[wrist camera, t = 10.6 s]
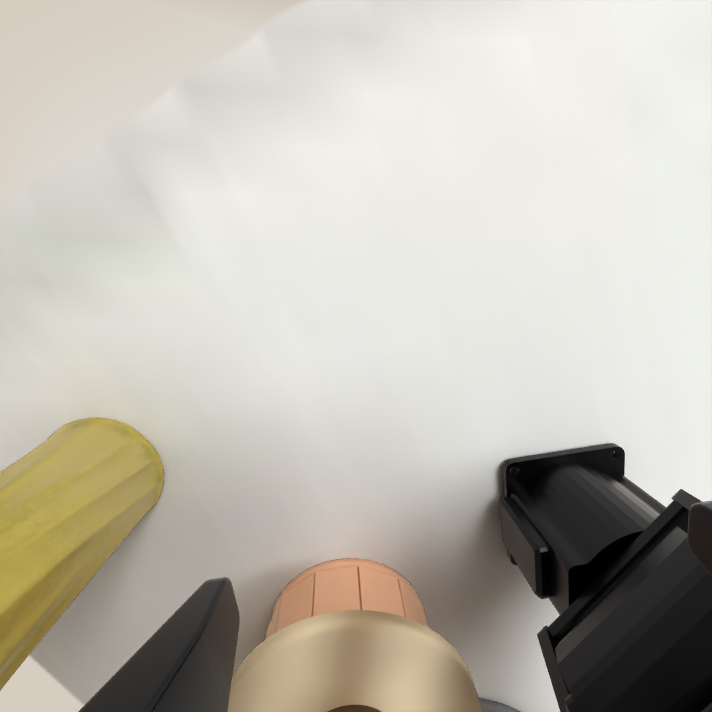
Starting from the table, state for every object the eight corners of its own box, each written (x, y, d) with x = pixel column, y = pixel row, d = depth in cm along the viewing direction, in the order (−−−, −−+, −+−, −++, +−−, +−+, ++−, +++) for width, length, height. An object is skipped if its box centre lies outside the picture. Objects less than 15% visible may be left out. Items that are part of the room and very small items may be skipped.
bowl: (414, 545, 23) (435, 622, 18) (429, 668, 25) (451, 766, 20) (258, 570, 23) (237, 655, 18) (286, 691, 25) (274, 796, 20)
